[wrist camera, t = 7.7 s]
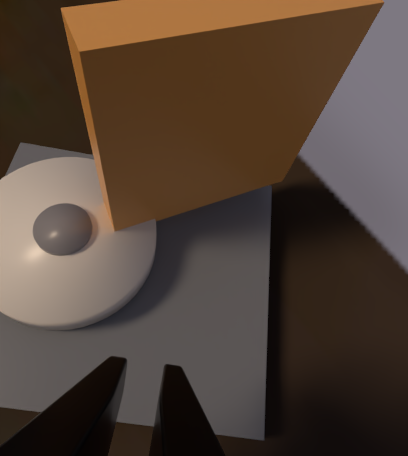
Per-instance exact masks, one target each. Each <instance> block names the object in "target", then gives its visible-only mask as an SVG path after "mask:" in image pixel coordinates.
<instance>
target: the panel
mask: <svg viewBox="0 0 408 456" xmlns="http://www.w3.org/2000/svg"><path fill="white" fill-rule="evenodd" d="M59 157H80V158H88V159H93V160H94V156H93V155H90V154H84V153H78V152H72V151H67V150H61V149H55V148H49V147H44V146H38V145H32V144H26V143H20V145H19V147H18V149H17V152H16V154H15V156H14V158H13V160H12V162H11V165H10V167H9V169H8V171H7V173H6V175H5V176H7V175H8V174H10V173H12V172H13V171H15V170H17V169H19V168H21V167H24V166H26V165H29V164H31V163H34V162H38V161H41V160H46V159H51V158H59ZM271 195H272V186H265V187H262V188H258V189H255V190H252V191H249V192H246V193H243V194H240V195H237V196H234V197H230V198H227V199H224V200H221V201H218V202H215V203H212V204H209V205H206V206H202V207H199V208H196V209H193V210H190V211H187V212H184V213H181V214H178V215H174V216H171V217H168V218H165V219H162V220H159V221H156V251H155V258H154V262H153V266H152V268H151V271H150V273H149V276H148V278H147V279H146V281H145V283H144V285H143V286H142V287H141V289H140V290H139V291H138V293H137V294H136V295H135V296H134V297H133V298H132V299H131V300H130V301H129V302H128V303H127V304H126V305H125V306H124V307H122V308H121V309H120V310H119V311H117V312H116V313H114V314H112V315H111V316H109V317H107V318H105V319H103V320H101V321H99V322H97V323H94V324H91V325H88V326H85V327H81V328H76V329H71V330H43V329H38V328H33V327H30V326H27V325H24V324H21V323H19V322H17V321H15V320H13V319H11V318H9V317H8V316H6V315H5V314H3V313H2V312H0V407H5V408H13V409H20V410H28V411H36V412H42V411H43V410H45V409H46V408H47V407H48V406H49V405H51V404H52V403H53V402H54V401H56V400H57V399H58V398H59V397H60V396H62V395H63V394H64V393H65V392H67V391H68V390H69V389H70V388H71V387H73V386H74V385H75V384H76V383H78V382H79V381H80V380H81V379H82V378H84V377H85V376H86V375H87V374H89V373H90V372H91V371H92V370H93V369H95V368H96V367H97V366H98V365H100V364H101V363H102V362H103V361H104V360H106V359H107V358H108V357H110V356H118V357H124V358H126V359H127V370H126V377H125V385H124V391H123V396H122V400H121V404H120V408H119V412H118V416H117V420H116V422H123V423H130V424H138V425H146V426H154V422H155V415H156V409H157V403H158V397H159V391H160V385H161V380H162V374H163V368H164V365H165V364H172V365H179V366H181V367H182V368H183V370H184V372H185V374H186V376H187V378H188V380H189V382H190V384H191V386H192V388H193V391H194V393H195V395H196V397H197V399H198V401H199V403H200V405H201V407H202V409H203V411H204V413H205V415H206V417H207V419H208V421H209V423H210V425H211V427H212V429H213V431H214V433H215V434H217V435H225V436H233V437H241V438H248V439H256V440H264V427H265V394H266V361H267V328H268V295H269V262H270V228H271Z"/></svg>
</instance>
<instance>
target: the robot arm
mask: <svg viewBox="0 0 408 456" xmlns="http://www.w3.org/2000/svg"><path fill="white" fill-rule="evenodd" d="M126 370H127V359H126V358H124V357H118V356H110V357H108V358H107V359H106V360H104V361H103V362H102V363H101V364H100V365H98V366H97V367H96V368H95V369H93V370H92V371H91V372H90V373H89V374H87V375H86V376H85V377H84V378H82V379H81V380H80V381H79V382H78V383H76V384H75V385H74V386H73V387H71V388H70V389H69V390H68V391H67V392H65V393H64V394H63V395H62V396H60V397H59V398H58V399H57V400H56V401H54V402H53V403H52V404H51V405H49V406H48V407H47V408H46V409H45V410H43V411H42V412H41V413H40V414H38V415H37V416H36V417H35V418H34V419H32V420H31V421H30V422H29V423H27V424H26V425H25V426H24V427H23V428H21V429H20V430H19V431H18V432H16V433H15V434H14V435H13V436H12V437H10V438H9V439H8V440H7V441H5V442H4V443H3V444H2V445H1V446H0V456H108V453H109V449H110V445H111V441H112V436H113V432H114V428H115V424H116V420H117V416H118V412H119V408H120V404H121V400H122V396H123V391H124V385H125V377H126ZM149 456H225V454H224V452H223V449H222V447H221V445H220V443H219V441H218V439H217V437H216V435H215V433H214V431H213V429H212V427H211V425H210V423H209V421H208V419H207V417H206V415H205V413H204V411H203V409H202V407H201V405H200V403H199V401H198V399H197V397H196V395H195V393H194V391H193V388H192V386H191V384H190V382H189V380H188V378H187V376H186V374H185V372H184V370H183V368H182V367H181V366H179V365H172V364H165V365H164V368H163V374H162V380H161V385H160V391H159V397H158V403H157V409H156V415H155V422H154V428H153V434H152V440H151V446H150V452H149Z"/></svg>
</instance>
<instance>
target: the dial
mask: <svg viewBox="0 0 408 456" xmlns="http://www.w3.org/2000/svg"><path fill="white" fill-rule="evenodd" d="M383 4H384V2H383V0H121V1H113V2H105V3H97V4H89V5H81V6H73V7H65V8H61V12H62V16H63V21H64V25H65V30H66V34H67V39H68V43H69V48H70V52H71V57H72V61H73V66H74V70H75V75H76V79H77V84H78V89H79V93H80V98H81V102H82V107H83V111H84V116H85V120H86V125H87V129H88V134H89V138H90V143H91V147H92V152H93V156H94V160H93V159H88V158H80V157H59V158H51V159H46V160H41V161H38V162H34V163H31V164H29V165H26V166H24V167H21V168H19V169H17V170H15V171H13V172H12V173H10V174H8V175H7V176H5V177H4V178H2V179H1V180H0V312H2V313H3V314H5V315H6V316H8V317H9V318H11V319H13V320H15V321H17V322H19V323H21V324H24V325H27V326H30V327H33V328H38V329H43V330H71V329H76V328H81V327H85V326H88V325H91V324H94V323H97V322H99V321H101V320H103V319H105V318H107V317H109V316H111V315H112V314H114V313H116V312H117V311H119V310H120V309H121V308H122V307H124V306H125V305H126V304H127V303H128V302H129V301H130V300H131V299H132V298H133V297H134V296H135V295H136V294H137V293H138V291H139V290H140V289H141V287H142V286H143V285H144V283H145V281H146V279H147V278H148V276H149V273H150V271H151V268H152V266H153V262H154V258H155V251H156V221H159V220H162V219H165V218H168V217H171V216H174V215H178V214H181V213H184V212H187V211H190V210H193V209H196V208H199V207H202V206H206V205H209V204H212V203H215V202H218V201H221V200H224V199H227V198H230V197H234V196H237V195H240V194H243V193H246V192H249V191H252V190H255V189H258V188H262V187H265V186H268V185H271V184H274V183H277V182H280V181H283V179H284V177H285V176H286V174H287V172H288V170H289V169H290V167H291V165H292V163H293V162H294V160H295V158H296V156H297V154H298V153H299V151H300V149H301V147H302V146H303V144H304V142H305V140H306V139H307V137H308V135H309V133H310V132H311V130H312V128H313V126H314V125H315V123H316V121H317V119H318V118H319V116H320V114H321V112H322V111H323V109H324V107H325V105H326V104H327V101H328V100H329V98H330V97H331V95H332V93H333V91H334V90H335V88H336V86H337V84H338V83H339V81H340V79H341V77H342V76H343V74H344V72H345V70H346V69H347V67H348V65H349V63H350V62H351V60H352V58H353V56H354V55H355V53H356V51H357V49H358V48H359V46H360V44H361V42H362V40H363V39H364V37H365V35H366V34H367V32H368V30H369V28H370V26H371V25H372V23H373V21H374V19H375V18H376V16H377V14H378V13H379V11H380V9H381V7H382V6H383Z"/></svg>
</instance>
